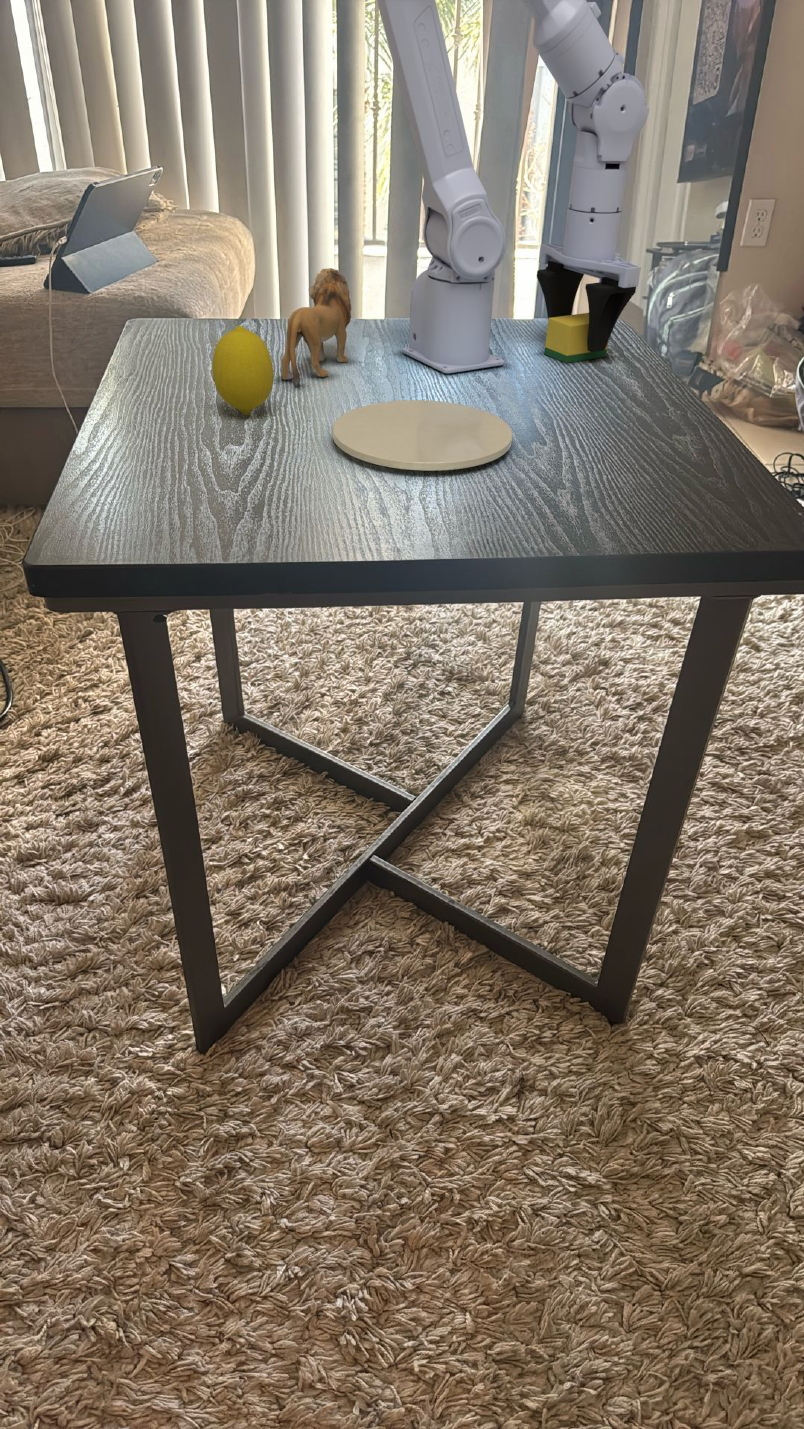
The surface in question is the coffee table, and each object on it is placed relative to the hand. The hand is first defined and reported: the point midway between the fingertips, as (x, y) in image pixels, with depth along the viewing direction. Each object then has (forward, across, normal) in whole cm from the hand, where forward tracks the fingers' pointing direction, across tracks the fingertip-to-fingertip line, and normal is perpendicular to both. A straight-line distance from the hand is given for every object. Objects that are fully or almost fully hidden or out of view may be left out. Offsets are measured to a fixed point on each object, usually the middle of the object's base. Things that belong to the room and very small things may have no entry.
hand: (576, 342), depth 105 cm
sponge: (+1, 0, 0) cm, 1 cm away
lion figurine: (+2, +9, +29) cm, 30 cm away
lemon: (+2, -2, +42) cm, 42 cm away
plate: (+1, -16, +31) cm, 35 cm away
